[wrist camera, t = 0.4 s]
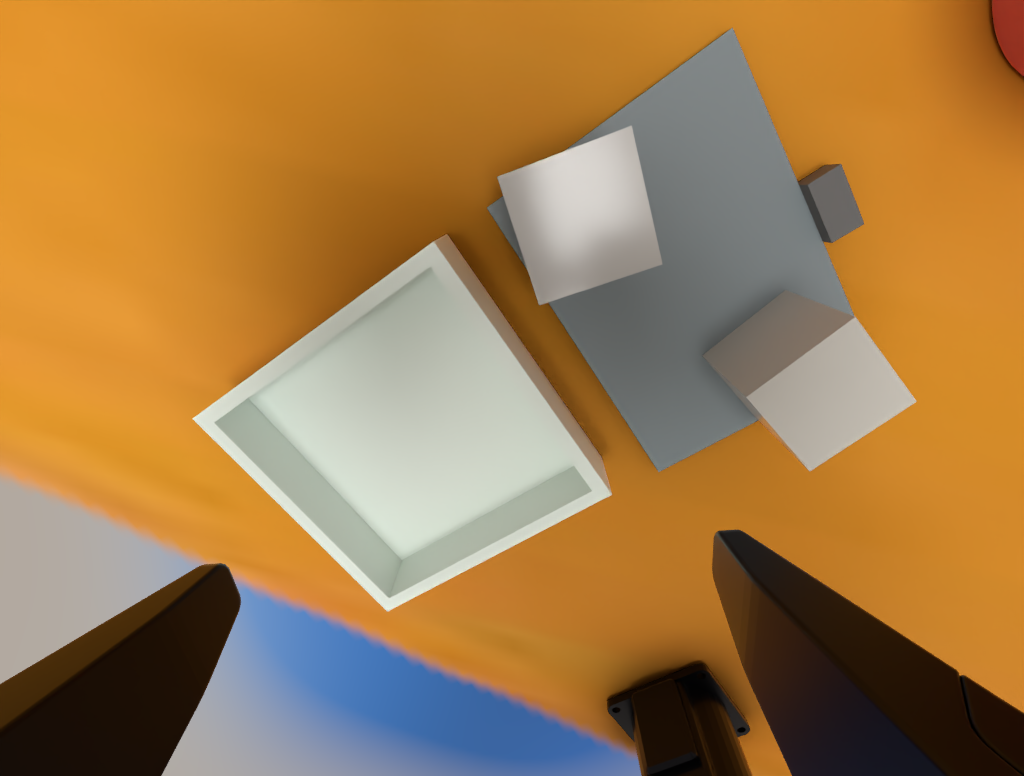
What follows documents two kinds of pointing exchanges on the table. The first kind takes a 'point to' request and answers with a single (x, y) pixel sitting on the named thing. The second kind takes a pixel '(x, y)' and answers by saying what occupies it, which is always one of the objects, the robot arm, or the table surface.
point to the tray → (411, 432)
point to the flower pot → (1010, 30)
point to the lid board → (703, 251)
